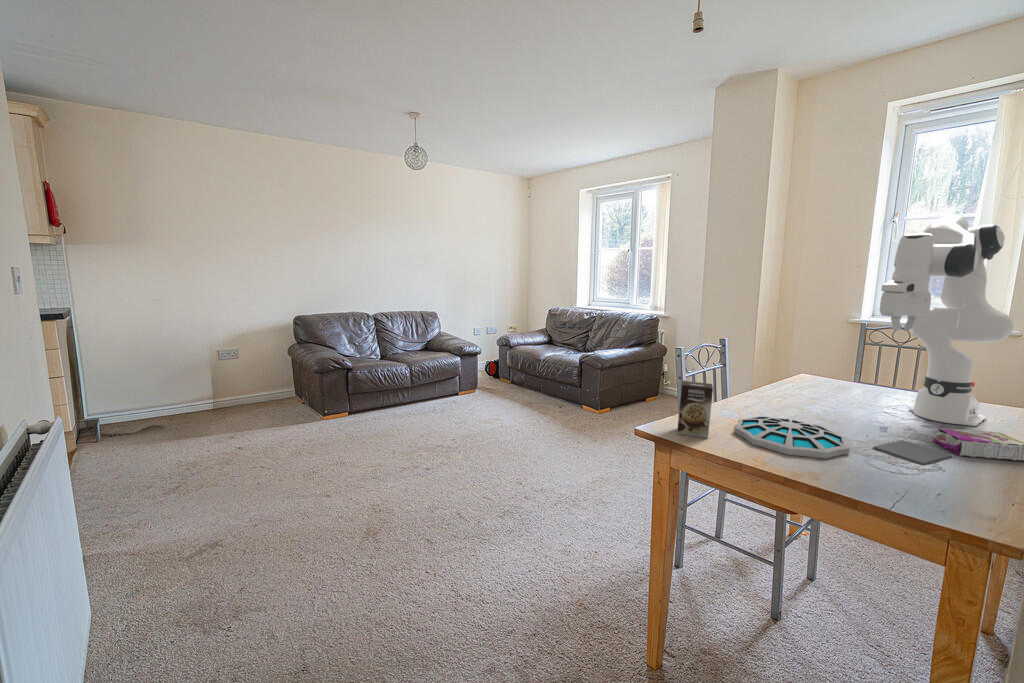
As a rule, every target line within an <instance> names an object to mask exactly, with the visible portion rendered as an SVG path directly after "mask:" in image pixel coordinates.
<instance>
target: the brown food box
mask: <svg viewBox="0 0 1024 683" xmlns="http://www.w3.org/2000/svg"><path fill="white" fill-rule="evenodd" d="M713 392H714V387H713V384H712V383H707V382H699V381H698V382H697V381H688V380H687V381H686V380H681V386H680V396H679V397H680V398H679V407H678V408H679V409H678V418H677V430H676V433H677V435H680V436H681V435H682V436H688V437H695V438H700V439H701V438H702V439H709V432H710V431H709V430H710V422H711V411H712V400H713Z"/></svg>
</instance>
